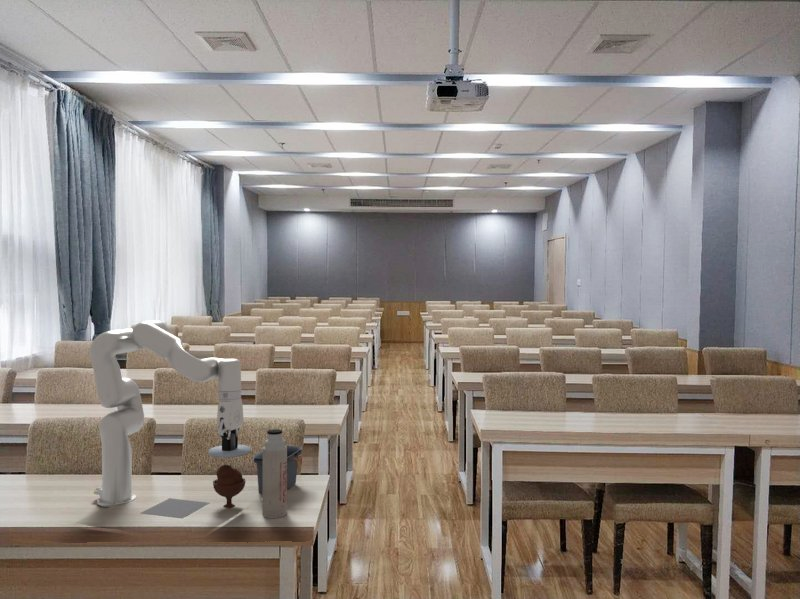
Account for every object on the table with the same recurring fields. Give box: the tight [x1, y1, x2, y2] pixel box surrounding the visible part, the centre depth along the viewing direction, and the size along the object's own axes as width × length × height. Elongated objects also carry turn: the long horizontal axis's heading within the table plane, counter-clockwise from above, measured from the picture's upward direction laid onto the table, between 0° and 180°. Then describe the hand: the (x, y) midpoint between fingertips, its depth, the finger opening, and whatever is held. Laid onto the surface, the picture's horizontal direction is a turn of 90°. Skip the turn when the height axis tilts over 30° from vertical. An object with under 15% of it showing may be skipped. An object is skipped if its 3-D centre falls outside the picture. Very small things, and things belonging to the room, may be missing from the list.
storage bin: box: [252, 444, 303, 495], centre depth 249 cm, size 21×16×14 cm
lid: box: [208, 433, 252, 458], centre depth 227 cm, size 14×14×6 cm
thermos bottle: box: [261, 428, 288, 519], centre depth 223 cm, size 8×8×28 cm
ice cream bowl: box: [212, 464, 246, 509], centre depth 227 cm, size 11×11×15 cm
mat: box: [140, 497, 210, 519], centre depth 225 cm, size 16×16×1 cm
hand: (229, 448), depth 227 cm, fingers closed on lid, 3 cm apart
